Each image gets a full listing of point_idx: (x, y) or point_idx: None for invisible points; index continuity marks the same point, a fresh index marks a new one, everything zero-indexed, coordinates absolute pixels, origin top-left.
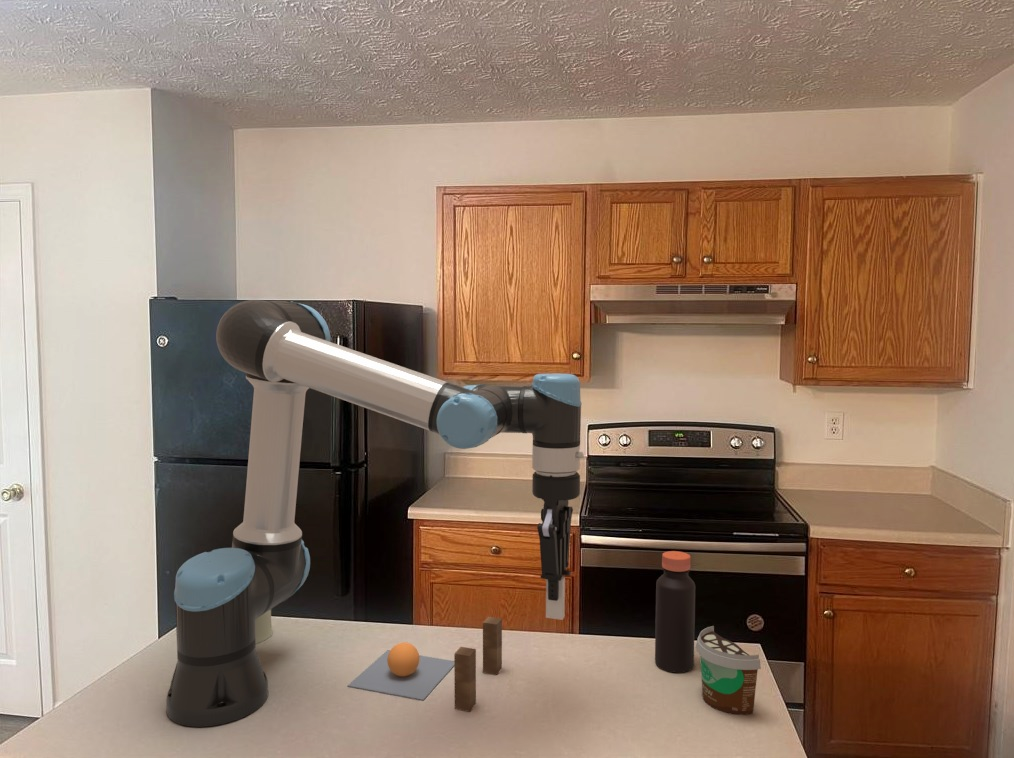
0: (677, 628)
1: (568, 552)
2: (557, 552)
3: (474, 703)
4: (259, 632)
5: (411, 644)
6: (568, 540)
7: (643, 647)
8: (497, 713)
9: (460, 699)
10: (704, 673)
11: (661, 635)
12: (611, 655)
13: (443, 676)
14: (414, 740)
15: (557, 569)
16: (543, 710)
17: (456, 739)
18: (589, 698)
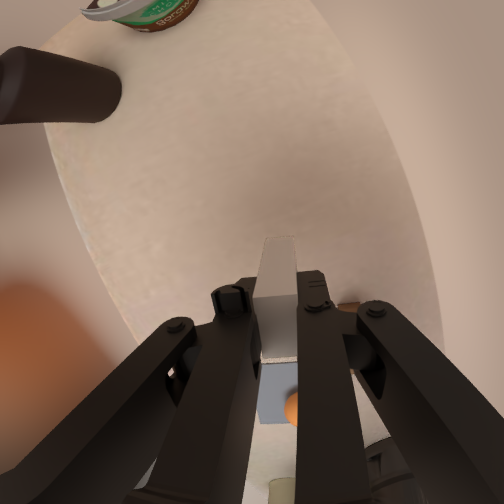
0: (78, 68)
1: (137, 359)
2: (438, 407)
3: (343, 305)
4: (294, 485)
5: (293, 418)
6: (107, 410)
7: (74, 155)
8: (351, 269)
9: None
10: (170, 2)
11: (86, 98)
12: (113, 184)
13: (291, 363)
14: (427, 322)
15: (398, 333)
16: (318, 214)
17: (417, 286)
18: (252, 161)
